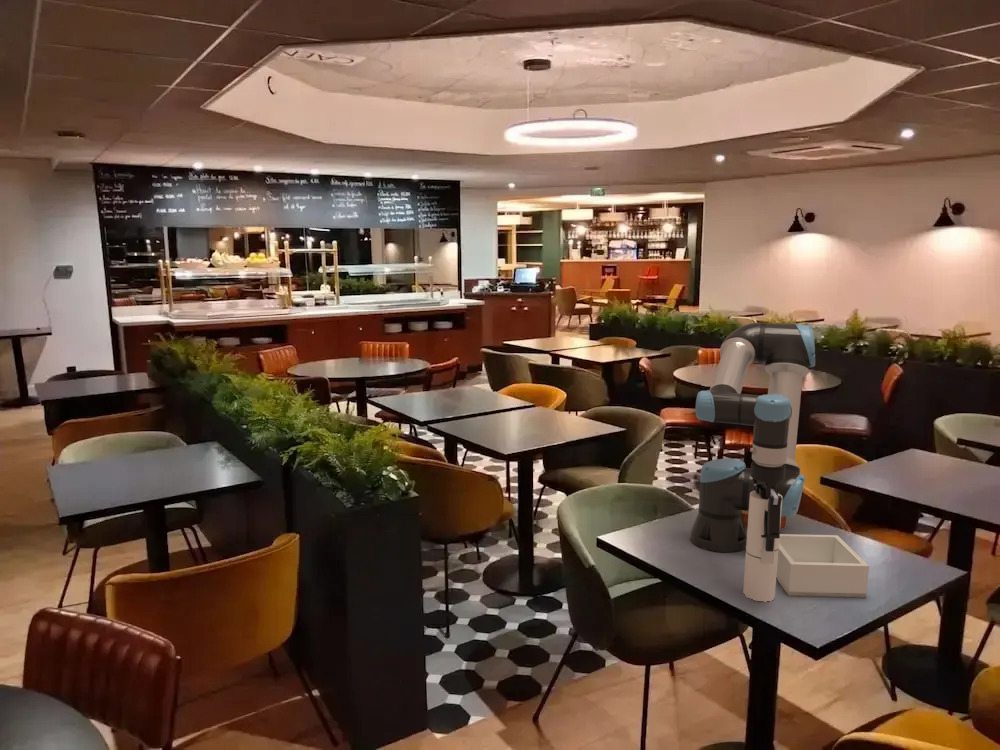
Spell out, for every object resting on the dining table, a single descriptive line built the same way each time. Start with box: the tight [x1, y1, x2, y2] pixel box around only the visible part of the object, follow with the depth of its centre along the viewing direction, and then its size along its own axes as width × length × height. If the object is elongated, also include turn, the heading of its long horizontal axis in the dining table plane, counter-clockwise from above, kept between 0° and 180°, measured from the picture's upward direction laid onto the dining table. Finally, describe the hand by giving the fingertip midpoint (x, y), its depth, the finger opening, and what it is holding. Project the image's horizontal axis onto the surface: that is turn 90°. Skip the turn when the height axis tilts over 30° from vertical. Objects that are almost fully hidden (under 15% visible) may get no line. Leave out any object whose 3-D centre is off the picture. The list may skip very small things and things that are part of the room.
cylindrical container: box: [742, 490, 783, 603], centre depth 170 cm, size 7×7×25 cm
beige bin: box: [776, 533, 870, 599], centre depth 179 cm, size 18×18×8 cm
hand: (761, 555), depth 170 cm, fingers closed on cylindrical container, 7 cm apart
